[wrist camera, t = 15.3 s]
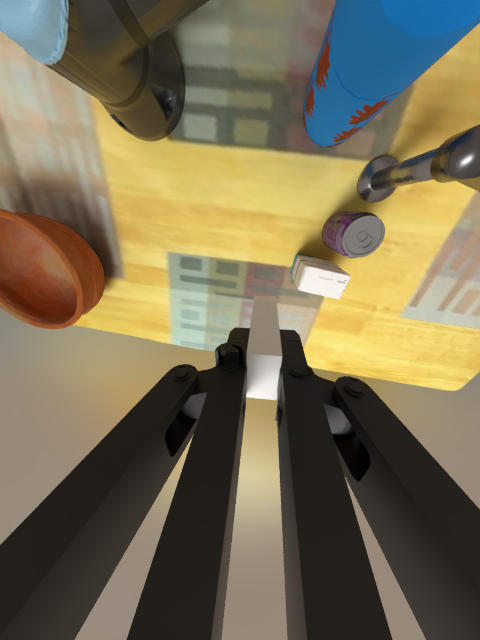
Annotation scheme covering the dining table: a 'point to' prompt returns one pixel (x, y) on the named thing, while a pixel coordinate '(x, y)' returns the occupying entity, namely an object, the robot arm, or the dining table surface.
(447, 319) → the dining table surface
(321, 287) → the ink box
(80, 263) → the bowl
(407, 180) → the post
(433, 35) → the thermos
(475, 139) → the swing bar
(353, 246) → the beverage can
